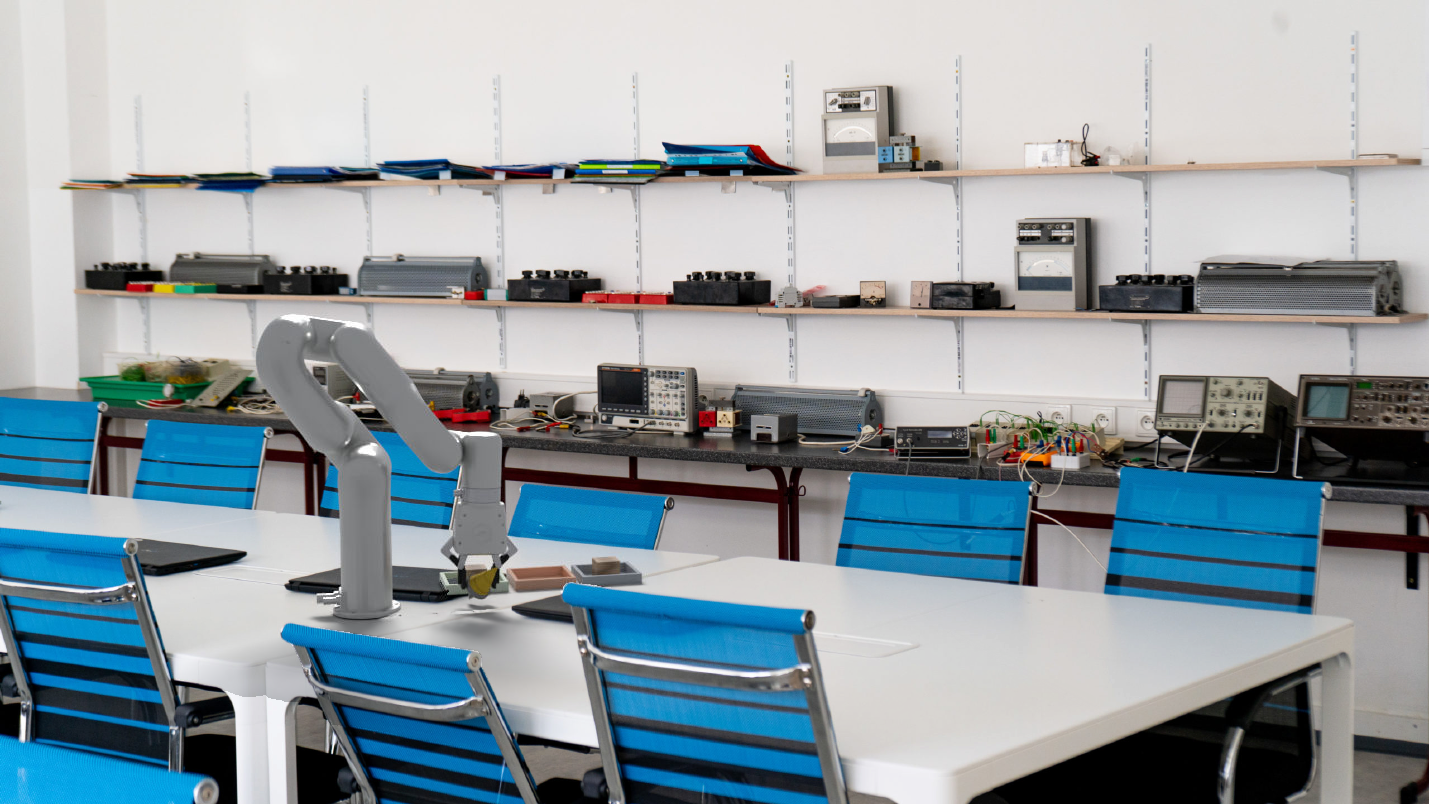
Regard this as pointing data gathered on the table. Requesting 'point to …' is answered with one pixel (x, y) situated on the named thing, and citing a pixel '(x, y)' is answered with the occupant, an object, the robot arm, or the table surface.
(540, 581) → the terracotta dish
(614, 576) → the grey tray
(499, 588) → the sage tray
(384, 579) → the robot arm
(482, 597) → the mustard yellow cone
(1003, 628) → the table surface
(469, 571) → the walnut block
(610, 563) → the walnut block
